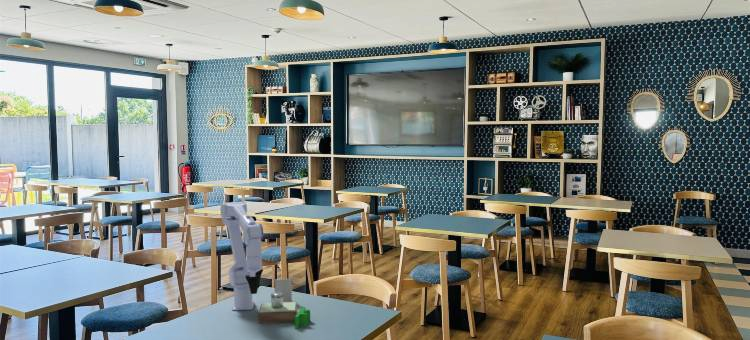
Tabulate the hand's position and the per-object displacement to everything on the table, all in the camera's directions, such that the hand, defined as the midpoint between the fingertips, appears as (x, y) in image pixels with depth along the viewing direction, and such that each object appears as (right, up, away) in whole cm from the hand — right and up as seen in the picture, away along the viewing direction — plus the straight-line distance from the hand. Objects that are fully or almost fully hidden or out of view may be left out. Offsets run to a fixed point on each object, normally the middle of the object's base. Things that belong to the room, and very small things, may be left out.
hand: (255, 290), depth 206 cm
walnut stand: (+9, -10, 0) cm, 14 cm away
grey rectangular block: (+8, -9, +19) cm, 23 cm away
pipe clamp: (+19, -11, -6) cm, 23 cm away
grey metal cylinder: (+9, -6, 0) cm, 10 cm away
